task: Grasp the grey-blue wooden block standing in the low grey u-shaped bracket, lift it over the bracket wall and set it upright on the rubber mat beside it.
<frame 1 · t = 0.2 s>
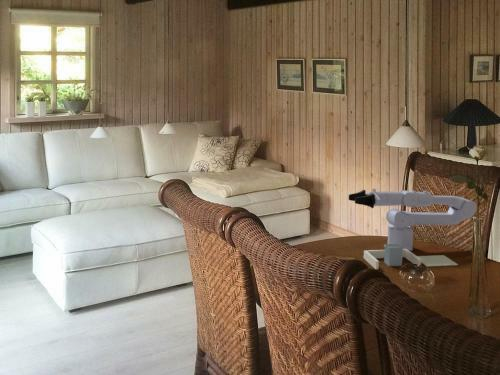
hand: (351, 198, 239), 21 cm above the table, fingers open, 7 cm apart
grey u-shaped bracket: (392, 263, 226), on the table
block: (392, 264, 225), on the table
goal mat: (435, 261, 228), on the table
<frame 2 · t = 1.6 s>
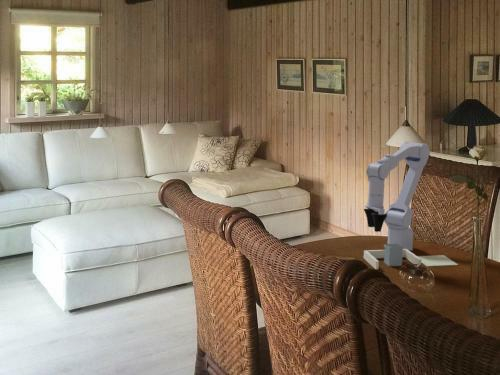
hand: (374, 229, 234), 10 cm above the table, fingers open, 7 cm apart
nothing on the table moved.
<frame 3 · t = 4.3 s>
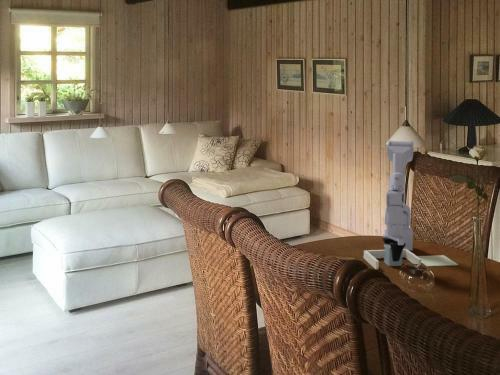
hand: (393, 258, 224), 2 cm above the table, fingers closed on block, 5 cm apart
block: (392, 263, 225), on the table, touching gripper
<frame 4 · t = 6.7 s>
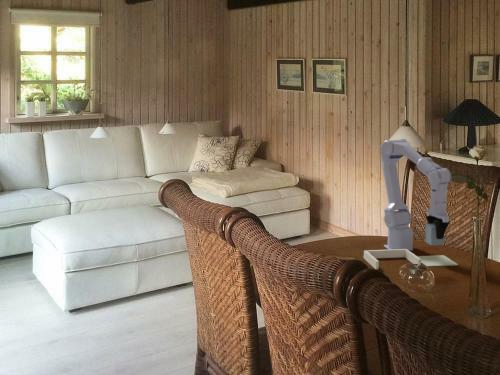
hand: (436, 236, 226), 9 cm above the table, fingers closed on block, 5 cm apart
block: (434, 243, 226), point 7 cm above the table, touching gripper
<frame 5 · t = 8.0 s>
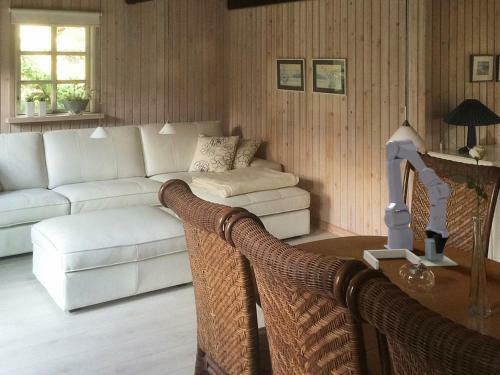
hand: (436, 251, 227), 4 cm above the table, fingers closed on block, 5 cm apart
block: (434, 257, 227), point 1 cm above the table, touching gripper
when the fingers open (3 cm above the table, at t = 9.1 s): block stays where it is, resting on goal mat.
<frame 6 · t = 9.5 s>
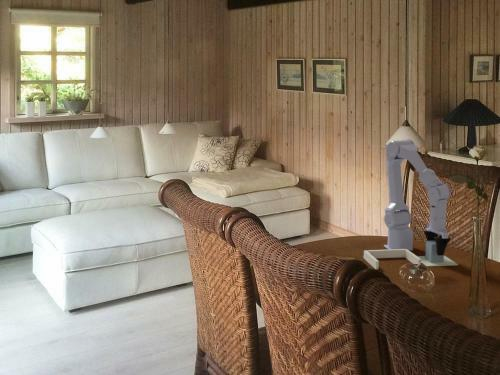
hand: (435, 252, 227), 3 cm above the table, fingers open, 7 cm apart
block: (434, 260, 228), resting on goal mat
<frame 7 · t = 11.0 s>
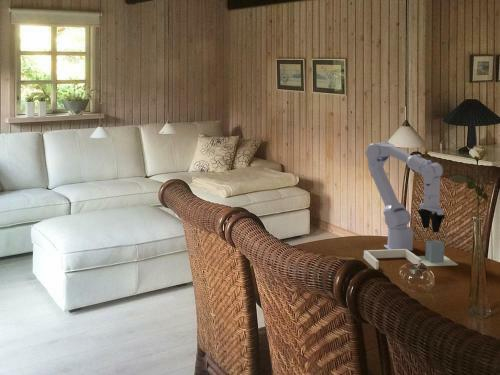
hand: (430, 229, 232), 10 cm above the table, fingers open, 7 cm apart
nothing on the table moved.
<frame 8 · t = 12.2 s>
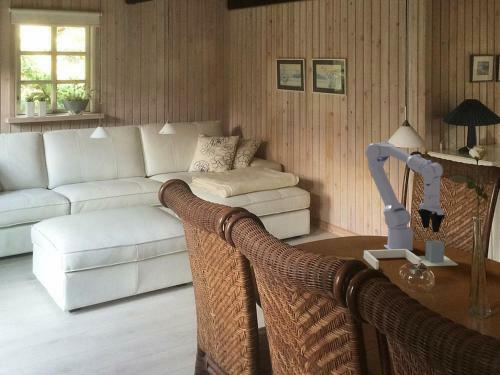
hand: (430, 229, 232), 10 cm above the table, fingers open, 7 cm apart
nothing on the table moved.
at the end: block inside the target area on the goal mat (0.5 cm from its centre), point 0.3 cm above the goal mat's base; block tilted 0°; the gripper is holding nothing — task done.
